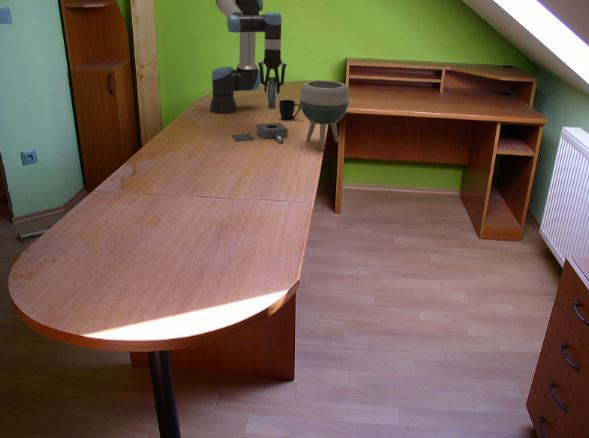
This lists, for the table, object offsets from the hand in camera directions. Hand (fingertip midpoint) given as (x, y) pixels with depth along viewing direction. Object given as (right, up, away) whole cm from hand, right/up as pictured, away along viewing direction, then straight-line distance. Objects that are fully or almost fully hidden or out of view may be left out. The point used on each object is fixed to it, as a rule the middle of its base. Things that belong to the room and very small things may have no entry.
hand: (272, 99), depth 258 cm
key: (0, -4, +2) cm, 4 cm away
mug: (+8, -4, +34) cm, 35 cm away
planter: (+24, -22, -5) cm, 33 cm away
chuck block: (+1, -17, +3) cm, 18 cm away
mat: (-14, -18, +1) cm, 23 cm away
